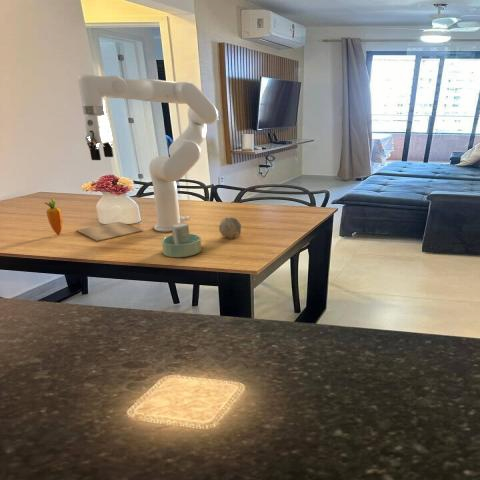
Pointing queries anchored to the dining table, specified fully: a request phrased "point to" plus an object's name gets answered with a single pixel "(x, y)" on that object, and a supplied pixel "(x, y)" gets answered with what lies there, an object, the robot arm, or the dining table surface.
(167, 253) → the bowl
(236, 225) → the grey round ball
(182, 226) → the grey rectangular block
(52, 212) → the carrot
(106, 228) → the mat
